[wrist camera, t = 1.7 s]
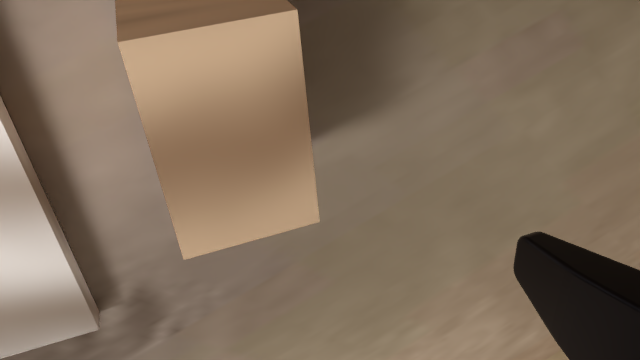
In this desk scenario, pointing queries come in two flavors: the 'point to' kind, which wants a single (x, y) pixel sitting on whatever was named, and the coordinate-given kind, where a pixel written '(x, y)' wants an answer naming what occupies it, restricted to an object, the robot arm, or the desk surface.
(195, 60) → the block
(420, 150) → the desk surface
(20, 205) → the board
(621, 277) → the robot arm
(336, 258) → the desk surface
